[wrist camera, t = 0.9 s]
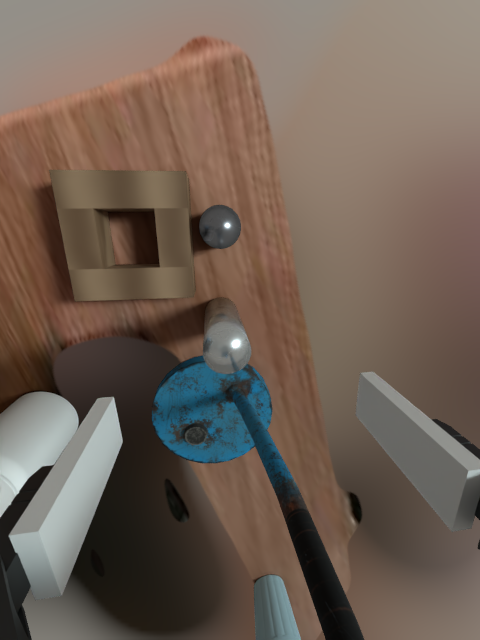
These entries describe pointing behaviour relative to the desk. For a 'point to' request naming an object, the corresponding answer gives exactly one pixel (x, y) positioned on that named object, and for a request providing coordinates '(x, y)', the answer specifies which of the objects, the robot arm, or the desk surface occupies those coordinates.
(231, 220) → the stub pin
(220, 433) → the desk lamp
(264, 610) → the cup
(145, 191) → the tan square frame
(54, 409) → the beverage can
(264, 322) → the desk surface
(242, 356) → the tall pin
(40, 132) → the desk surface
